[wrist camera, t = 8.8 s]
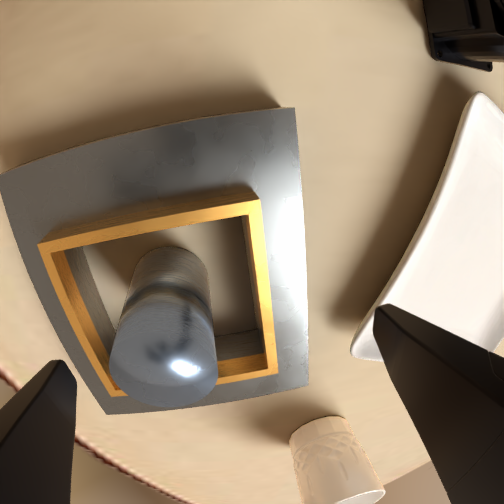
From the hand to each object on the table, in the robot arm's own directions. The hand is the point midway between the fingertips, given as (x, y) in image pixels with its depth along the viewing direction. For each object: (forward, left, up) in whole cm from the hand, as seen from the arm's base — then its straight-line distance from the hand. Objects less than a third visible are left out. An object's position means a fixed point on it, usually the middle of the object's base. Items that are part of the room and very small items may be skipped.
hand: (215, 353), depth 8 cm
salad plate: (-22, +7, -12) cm, 26 cm away
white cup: (-7, +26, -12) cm, 29 cm away
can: (+3, +4, -12) cm, 13 cm away
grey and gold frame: (+3, +4, -12) cm, 13 cm away
